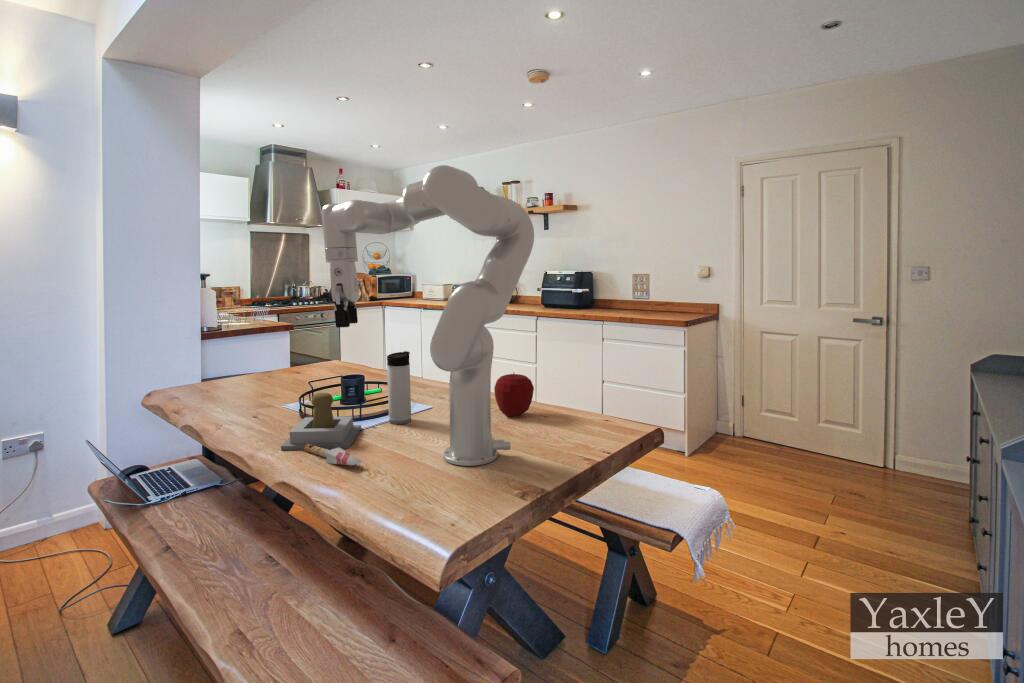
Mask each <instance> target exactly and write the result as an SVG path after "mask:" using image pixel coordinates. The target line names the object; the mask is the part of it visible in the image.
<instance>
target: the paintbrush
mask: <svg viewBox="0 0 1024 683" xmlns="http://www.w3.org/2000/svg"><path fill="white" fill-rule="evenodd" d="M304 449H305V450H304V451H305V452H308V453H311V454H313V455H318V456H320V457H323V458H326V459H325V463H326V464H329V465H330V464H332V465H333V464H334V465H343V466H355V465H358V464H360V463H364V461H363V460H361V459H359V458H358V457H356V456H354V455H353V454H351V453H349V452H348V451H346V450H345V449H341V448H339V447H338V448H335V449H324V448H320V447H317V446H313V445H311V444H307V445H306V446H305V448H304Z"/></svg>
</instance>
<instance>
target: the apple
mask: <svg viewBox="0 0 1024 683" xmlns="http://www.w3.org/2000/svg"><path fill="white" fill-rule="evenodd" d="M493 388H494V390H493V391H494V397H495V401H496V403H497V406H498V409H499V411H500V412H501V413H502V414H503V415H504V416H505V417H506V418H511V419H513V418H514V419H515V418H519V417H521V416H523V415H524V414H525V413H526V412H527V411H528V410H529V409H530V407H531V403H532V401H533V396H534V390H535V388H534V385H533V381H532V380H531V379H530V378H529V377H528V376H527V375H524V374H519V373H515V372H513V373H511V374H505V375H501V376H500V377H499V378H497V380H496V382H495V384H494V387H493Z"/></svg>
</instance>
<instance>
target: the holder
mask: <svg viewBox="0 0 1024 683" xmlns="http://www.w3.org/2000/svg"><path fill="white" fill-rule="evenodd" d="M333 419H334V424H335V428H312V426H313V416H312V417H311V416H310V417H309V416H308V417H304V418H303V419H301V421H300V422H298V423H297V424H296V425H295V426H294V427H293V428H292V429H291V430H290V431H289V438H287V440H286V441H284V442H283V444H282V445H281V446H280V450H281V451H302V450H303V451H305V449H304V448H305V446H306V445H307V444H311V445H313V446H317V447H320V448H324V449H327V450H332V449H335V448H338V447H339V448H341V449H343V450H345V449H349V448H350V446H351V445H352V443H353V442H354V440H355V439H356V437H357V436H358V434H359V432H360V431H361V430H360V429H362V424H354V416H333Z"/></svg>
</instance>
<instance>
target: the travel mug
mask: <svg viewBox="0 0 1024 683" xmlns="http://www.w3.org/2000/svg"><path fill="white" fill-rule="evenodd" d="M386 362H387V363H386V366H387V369H386V371H387V374H386V375H387V397H388V422H389V424H391V425H405V424H408V423H411V422H412V403H411V401H412V398H411V396H412V394H411V393H412V392H411V366H410V364H411V363H410V351H407V350H405V351H401V352H394V353H390V354H388V355H387V356H386Z"/></svg>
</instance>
